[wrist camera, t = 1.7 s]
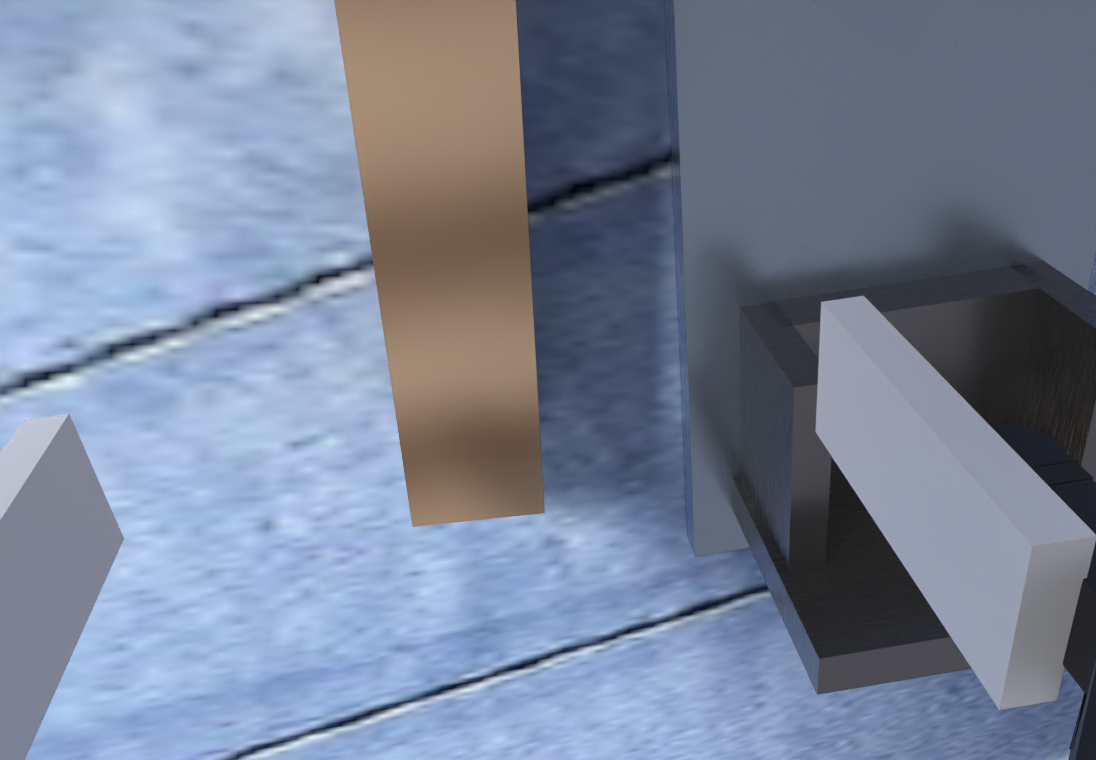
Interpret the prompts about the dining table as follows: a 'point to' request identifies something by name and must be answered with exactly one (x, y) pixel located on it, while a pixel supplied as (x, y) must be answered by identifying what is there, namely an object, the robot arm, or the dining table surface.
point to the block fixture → (872, 270)
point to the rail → (450, 246)
